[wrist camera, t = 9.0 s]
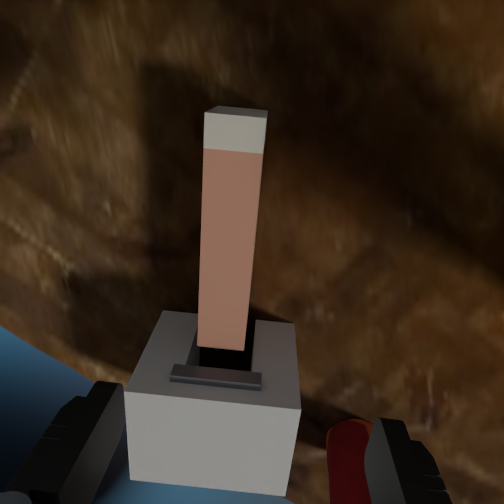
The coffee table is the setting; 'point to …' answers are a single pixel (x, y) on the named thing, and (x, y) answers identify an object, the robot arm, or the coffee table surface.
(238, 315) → the pink white-banded pillar
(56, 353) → the coffee table surface
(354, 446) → the paper cup
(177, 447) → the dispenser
